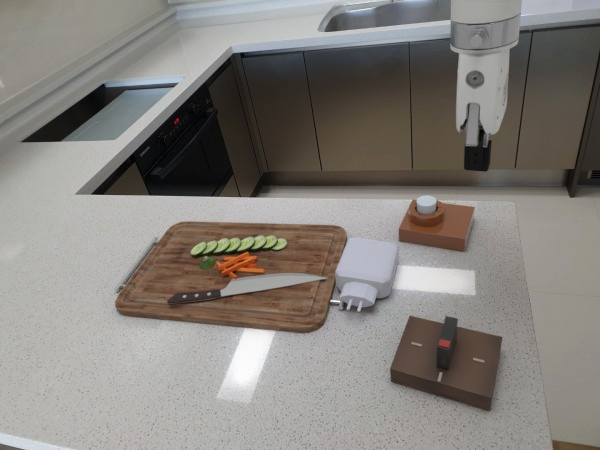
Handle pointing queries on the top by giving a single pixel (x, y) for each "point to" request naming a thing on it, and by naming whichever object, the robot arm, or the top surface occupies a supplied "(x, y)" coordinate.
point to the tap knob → (447, 342)
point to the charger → (366, 271)
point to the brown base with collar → (438, 226)
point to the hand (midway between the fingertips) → (476, 167)
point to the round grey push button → (426, 205)
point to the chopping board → (237, 275)
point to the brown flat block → (463, 368)
